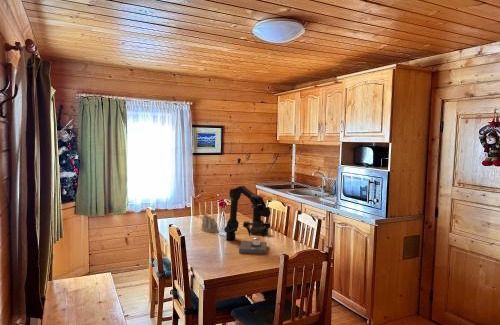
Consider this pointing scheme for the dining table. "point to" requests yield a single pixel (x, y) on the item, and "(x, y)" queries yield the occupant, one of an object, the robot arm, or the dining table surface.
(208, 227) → the ceramic cottage
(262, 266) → the dining table surface
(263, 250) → the duct plate
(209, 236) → the dining table surface
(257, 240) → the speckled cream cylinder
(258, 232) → the dark knit hat
